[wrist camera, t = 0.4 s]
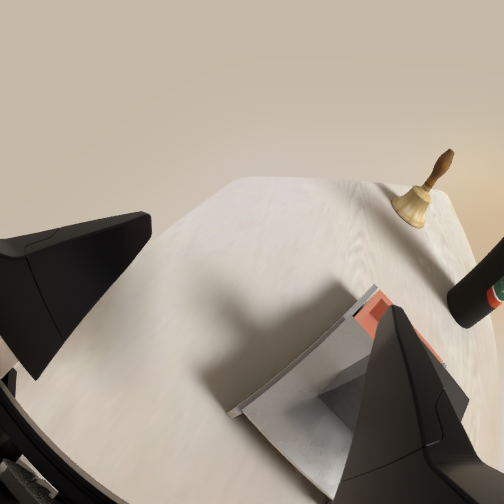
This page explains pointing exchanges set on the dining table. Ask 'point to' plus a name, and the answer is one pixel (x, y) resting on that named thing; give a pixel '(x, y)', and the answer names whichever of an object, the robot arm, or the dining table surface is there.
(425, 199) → the hand bell
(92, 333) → the dining table surface
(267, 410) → the lid
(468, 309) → the wine bottle
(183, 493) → the dining table surface
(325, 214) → the dining table surface
